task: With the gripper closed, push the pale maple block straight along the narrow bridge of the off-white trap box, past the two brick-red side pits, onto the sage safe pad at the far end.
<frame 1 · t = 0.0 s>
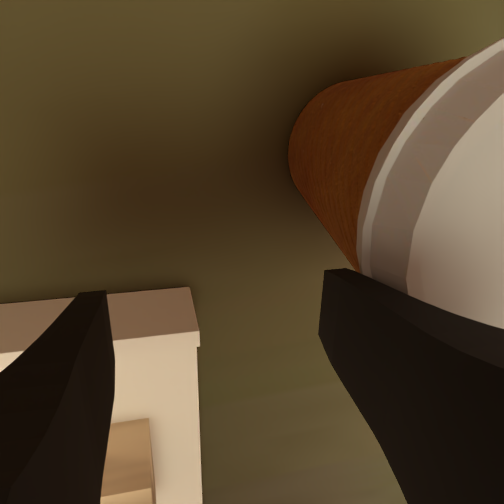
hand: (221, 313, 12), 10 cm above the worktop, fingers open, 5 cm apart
maple block: (101, 462, 23), point 2 cm above the worktop, touching trap box
disposable coffee cup: (347, 148, 22), on the worktop, touching gripper
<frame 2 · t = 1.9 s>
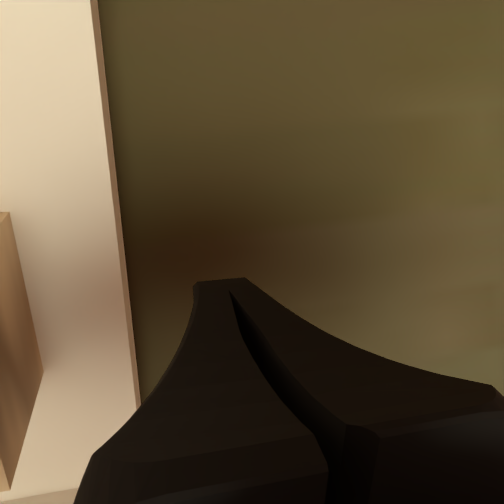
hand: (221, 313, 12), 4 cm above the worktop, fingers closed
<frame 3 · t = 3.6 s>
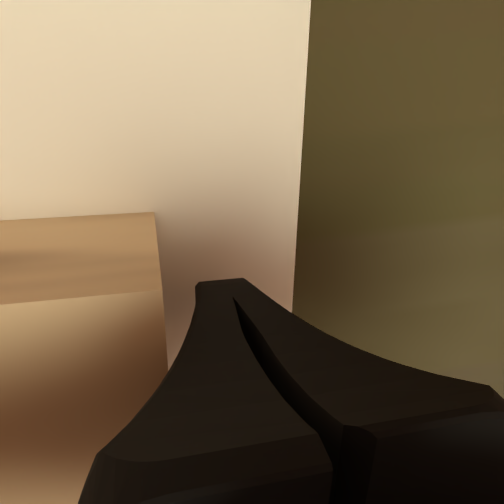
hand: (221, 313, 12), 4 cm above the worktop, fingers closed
maple block: (62, 308, 12), point 3 cm above the worktop, touching gripper
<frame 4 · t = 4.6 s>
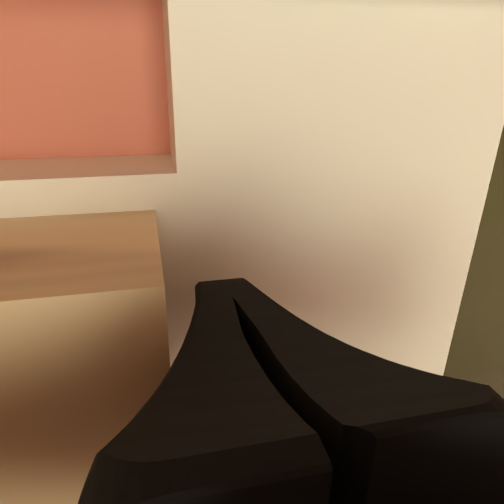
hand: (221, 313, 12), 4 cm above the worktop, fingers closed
maple block: (63, 307, 12), point 3 cm above the worktop, touching gripper, trap box
trap box: (78, 268, 14), on the worktop
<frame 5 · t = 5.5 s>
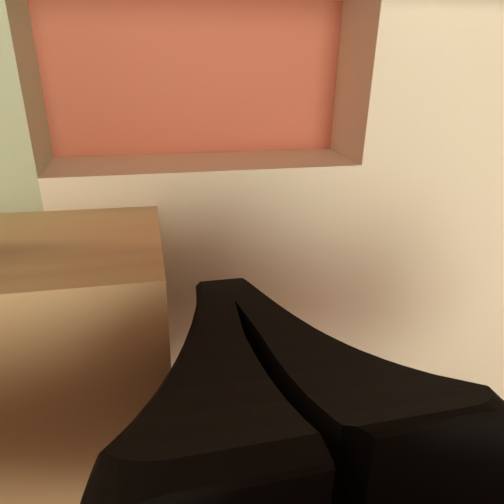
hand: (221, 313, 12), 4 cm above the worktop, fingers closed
maple block: (63, 303, 12), point 3 cm above the worktop, touching gripper, trap box
trap box: (232, 255, 15), on the worktop
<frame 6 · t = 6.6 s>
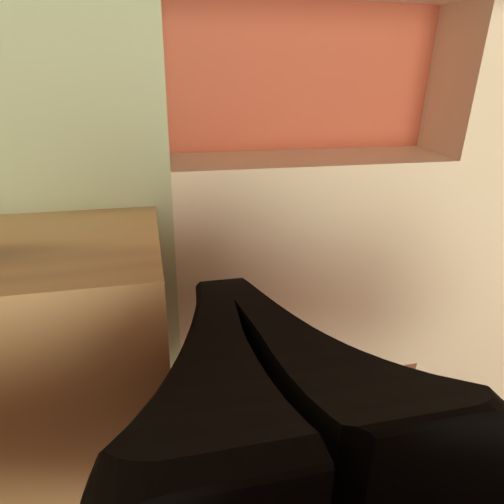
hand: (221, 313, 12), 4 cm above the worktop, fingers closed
maple block: (63, 303, 12), point 2 cm above the worktop, touching gripper, trap box
trap box: (317, 247, 16), on the worktop
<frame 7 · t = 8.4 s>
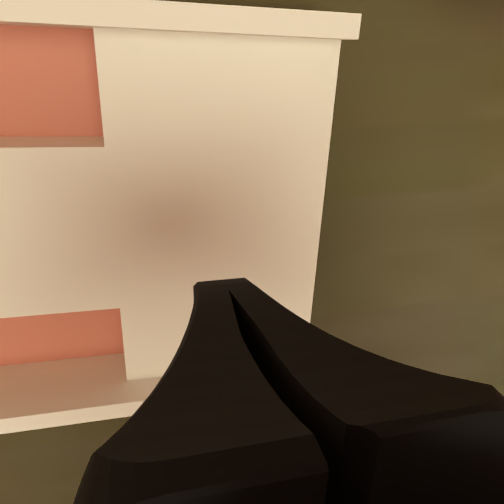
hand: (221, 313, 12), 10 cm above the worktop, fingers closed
trap box: (44, 216, 20), on the worktop
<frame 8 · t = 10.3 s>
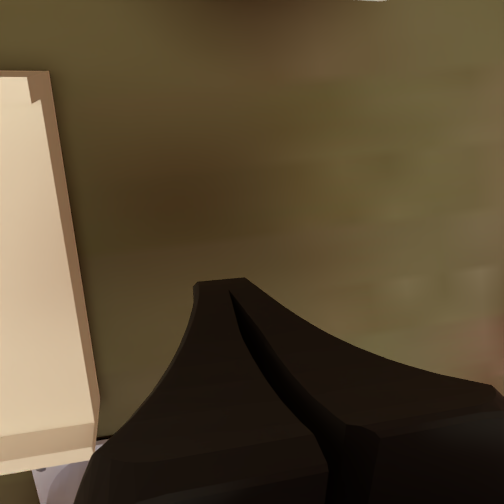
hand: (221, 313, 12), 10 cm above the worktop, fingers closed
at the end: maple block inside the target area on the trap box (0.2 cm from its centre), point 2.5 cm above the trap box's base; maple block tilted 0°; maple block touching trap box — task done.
